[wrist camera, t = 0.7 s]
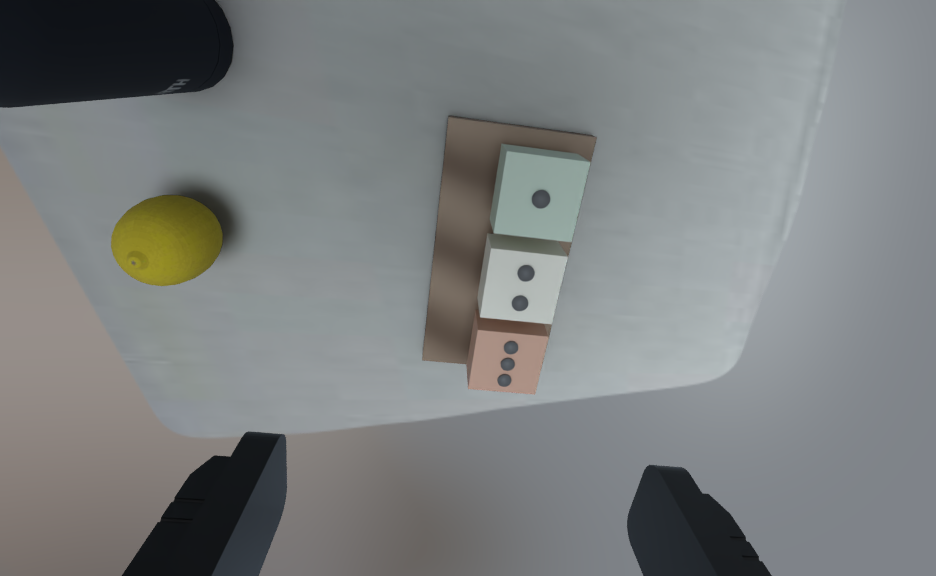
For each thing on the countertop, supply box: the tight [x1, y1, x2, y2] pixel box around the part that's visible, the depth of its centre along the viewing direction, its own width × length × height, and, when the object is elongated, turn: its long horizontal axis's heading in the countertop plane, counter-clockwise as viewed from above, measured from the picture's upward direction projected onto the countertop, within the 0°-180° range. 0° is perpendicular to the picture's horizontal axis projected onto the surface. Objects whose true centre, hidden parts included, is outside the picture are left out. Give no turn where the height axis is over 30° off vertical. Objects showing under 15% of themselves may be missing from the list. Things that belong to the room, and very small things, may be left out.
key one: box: [490, 144, 591, 242], centre depth 29 cm, size 5×5×3 cm
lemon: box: [111, 195, 223, 286], centre depth 30 cm, size 6×6×8 cm
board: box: [422, 116, 597, 368], centre depth 35 cm, size 19×10×1 cm, turn 172°
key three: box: [467, 310, 549, 394], centre depth 34 cm, size 5×5×3 cm
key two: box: [477, 233, 568, 324], centre depth 32 cm, size 5×5×3 cm
